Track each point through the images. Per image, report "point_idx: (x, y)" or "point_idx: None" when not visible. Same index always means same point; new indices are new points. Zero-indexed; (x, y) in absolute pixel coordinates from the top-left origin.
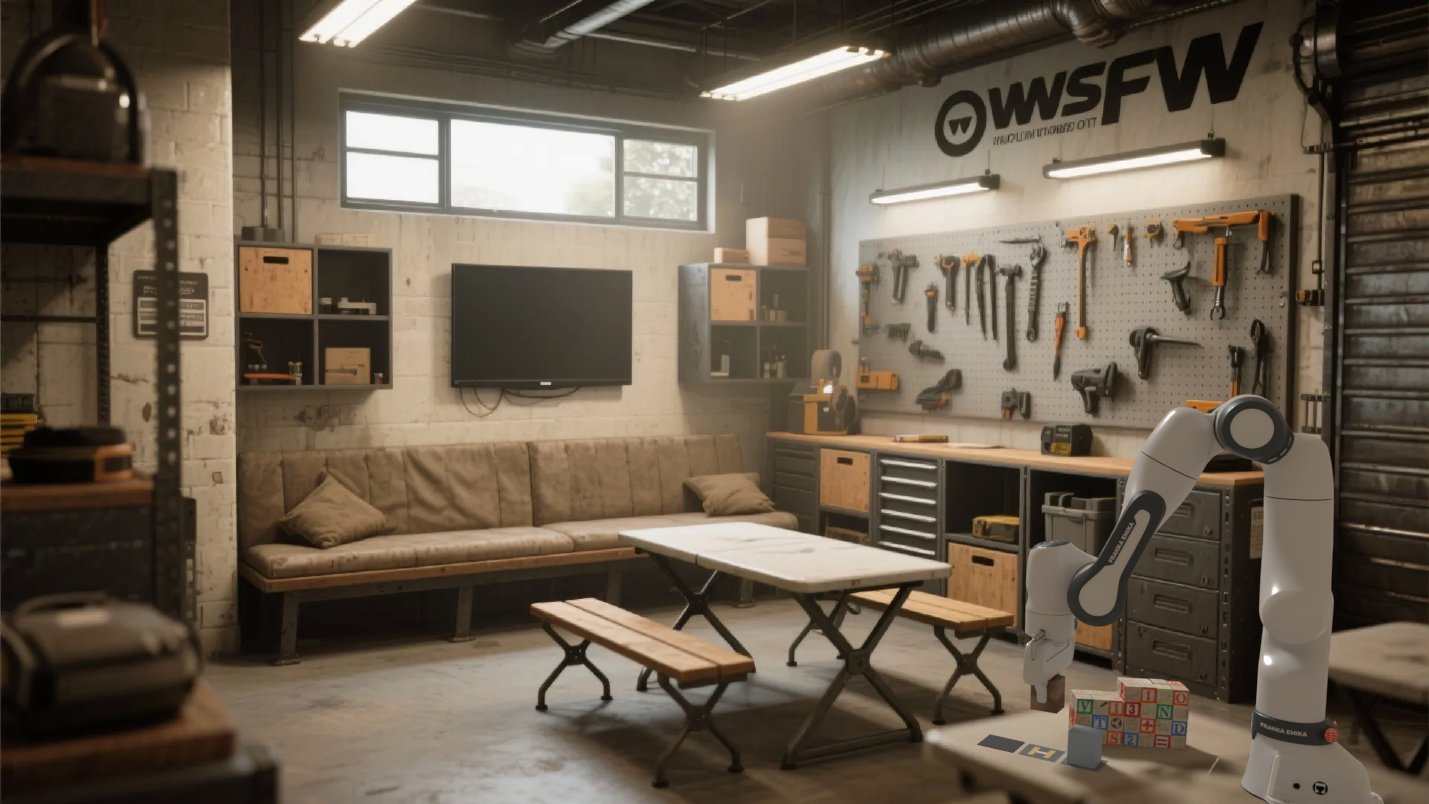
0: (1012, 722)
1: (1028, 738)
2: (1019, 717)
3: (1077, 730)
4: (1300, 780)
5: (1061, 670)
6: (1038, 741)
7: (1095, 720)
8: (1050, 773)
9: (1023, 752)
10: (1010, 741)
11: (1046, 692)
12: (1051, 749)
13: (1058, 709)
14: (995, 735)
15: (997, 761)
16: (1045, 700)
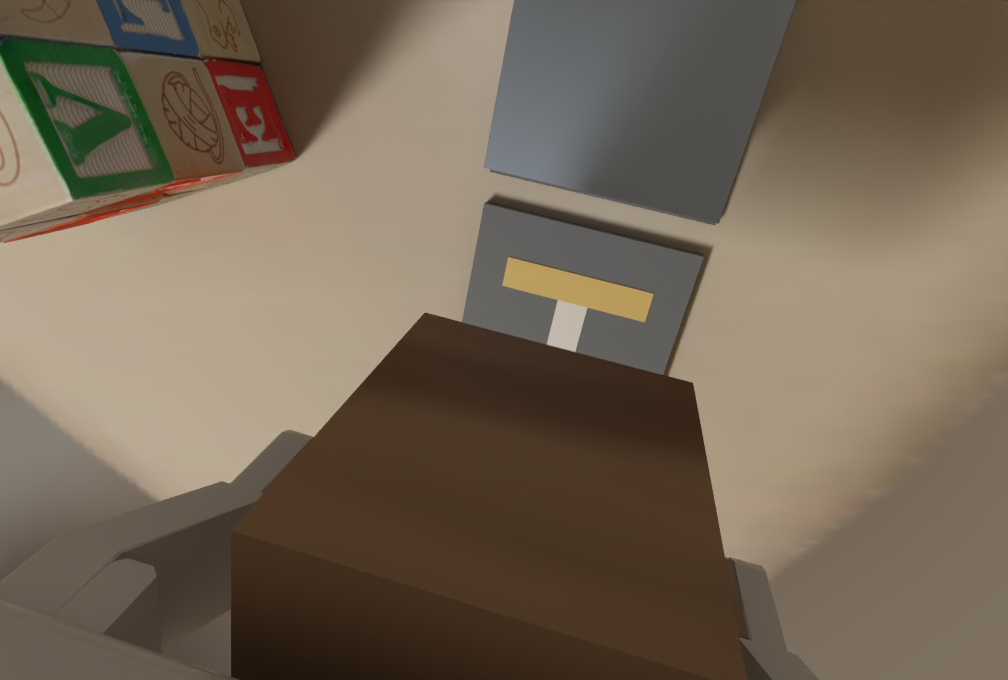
0: (179, 464)
1: None
2: (95, 436)
3: (660, 144)
4: None
5: (145, 653)
6: (369, 348)
7: (140, 23)
8: (886, 268)
9: None
10: None
11: (796, 671)
12: (487, 282)
13: (629, 379)
14: None
15: (770, 528)
16: (764, 585)
